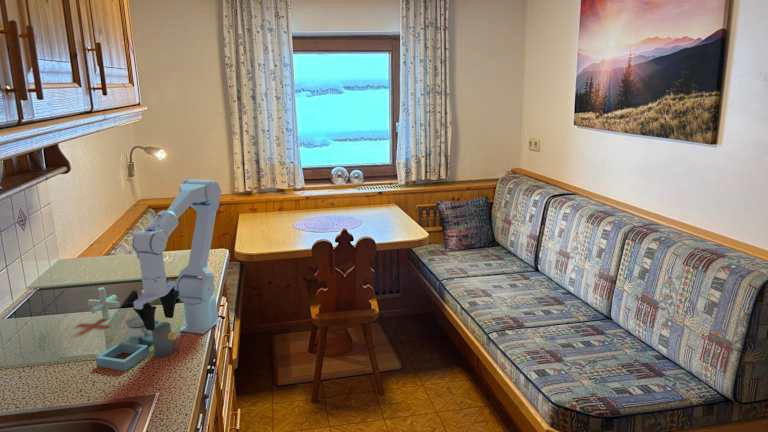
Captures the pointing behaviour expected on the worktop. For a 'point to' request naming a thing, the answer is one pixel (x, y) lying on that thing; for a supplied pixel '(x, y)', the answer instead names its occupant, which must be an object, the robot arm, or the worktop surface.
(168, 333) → the dark grey rounded cylinder
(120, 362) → the light blue shallow tray
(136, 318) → the motor
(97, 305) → the pipe connector
